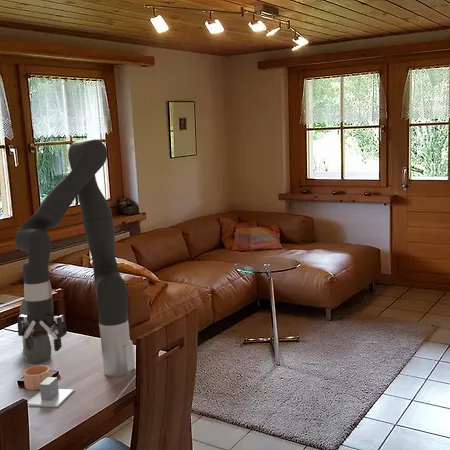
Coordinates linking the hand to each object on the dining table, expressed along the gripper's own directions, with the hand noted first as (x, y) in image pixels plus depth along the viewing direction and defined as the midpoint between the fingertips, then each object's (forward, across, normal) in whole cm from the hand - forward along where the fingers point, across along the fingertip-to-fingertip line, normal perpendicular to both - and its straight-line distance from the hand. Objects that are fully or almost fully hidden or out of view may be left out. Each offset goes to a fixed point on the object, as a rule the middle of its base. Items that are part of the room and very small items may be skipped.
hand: (44, 349), depth 172 cm
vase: (+16, +28, -38) cm, 50 cm away
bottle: (+16, +20, -29) cm, 38 cm away
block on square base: (+15, 0, 0) cm, 15 cm away
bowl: (+16, +9, -9) cm, 20 cm away
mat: (+16, 0, 0) cm, 16 cm away
